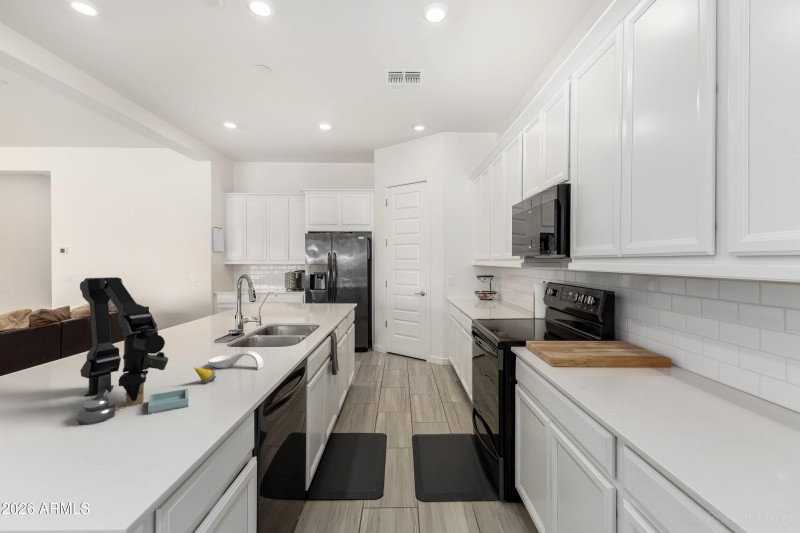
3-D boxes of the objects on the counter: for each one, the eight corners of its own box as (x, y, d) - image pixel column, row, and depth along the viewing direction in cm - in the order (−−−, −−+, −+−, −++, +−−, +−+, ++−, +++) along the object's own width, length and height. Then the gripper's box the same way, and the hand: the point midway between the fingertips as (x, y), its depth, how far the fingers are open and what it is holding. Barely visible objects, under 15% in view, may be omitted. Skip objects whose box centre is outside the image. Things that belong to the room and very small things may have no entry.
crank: (106, 408, 93) (107, 389, 93) (82, 412, 90) (83, 393, 90) (115, 389, 106) (115, 373, 106) (95, 392, 103) (95, 376, 103)
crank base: (81, 414, 95) (82, 404, 95) (126, 406, 101) (126, 397, 101) (73, 427, 88) (73, 416, 88) (121, 418, 93) (122, 408, 93)
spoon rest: (201, 370, 137) (201, 353, 137) (220, 361, 148) (220, 346, 148) (254, 373, 134) (254, 356, 134) (269, 364, 146) (269, 348, 145)
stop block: (127, 402, 104) (128, 380, 104) (143, 399, 106) (143, 378, 106) (126, 406, 101) (126, 384, 101) (142, 403, 103) (142, 382, 103)
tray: (150, 402, 104) (150, 394, 104) (187, 395, 110) (187, 388, 110) (148, 414, 96) (148, 406, 96) (188, 406, 102) (188, 398, 102)
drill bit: (217, 384, 122) (196, 371, 116) (206, 389, 123) (185, 376, 117) (222, 372, 126) (202, 358, 120) (211, 376, 127) (191, 363, 121)
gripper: (165, 353, 100) (165, 403, 100) (167, 340, 116) (166, 384, 116) (118, 358, 94) (118, 411, 94) (127, 344, 109) (126, 390, 109)
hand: (135, 398), depth 104 cm, fingers closed on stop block, 4 cm apart
